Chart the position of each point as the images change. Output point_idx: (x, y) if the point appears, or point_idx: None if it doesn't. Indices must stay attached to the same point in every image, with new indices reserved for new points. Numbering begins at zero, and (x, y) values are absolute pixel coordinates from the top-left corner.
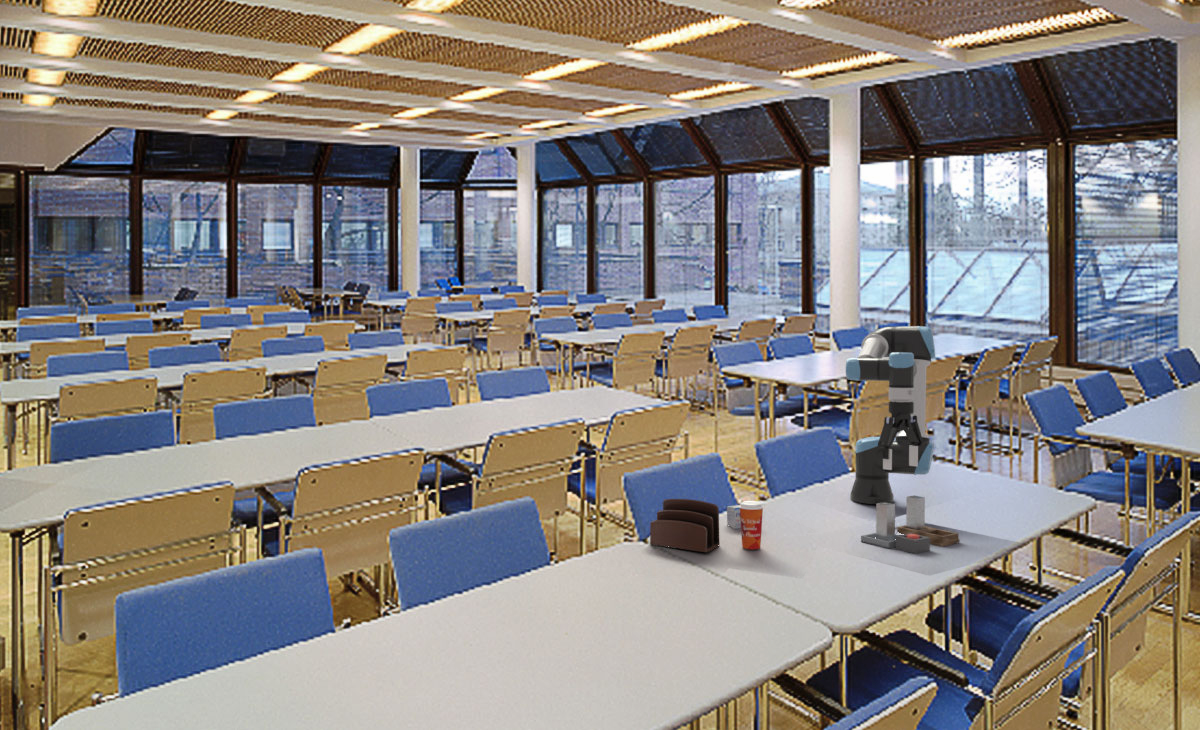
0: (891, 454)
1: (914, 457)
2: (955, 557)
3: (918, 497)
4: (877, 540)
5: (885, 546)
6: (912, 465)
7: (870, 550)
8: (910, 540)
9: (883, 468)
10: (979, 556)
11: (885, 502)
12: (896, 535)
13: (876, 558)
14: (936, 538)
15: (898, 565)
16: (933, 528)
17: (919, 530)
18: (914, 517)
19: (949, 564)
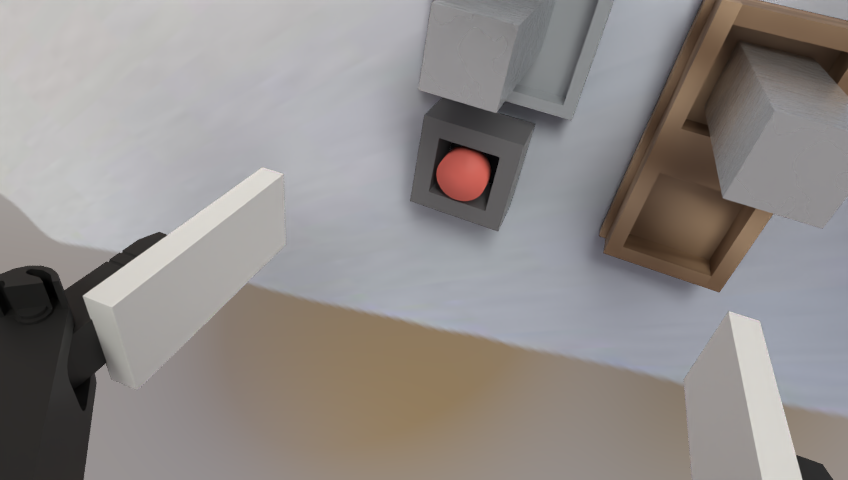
0: (180, 339)
1: (703, 447)
2: (476, 287)
3: (793, 192)
4: None
5: None
6: (704, 349)
7: (355, 20)
8: (415, 179)
9: (259, 175)
10: (537, 340)
11: (513, 36)
12: (583, 46)
13: (282, 90)
14: (616, 219)
15: None
16: None
17: (686, 136)
18: (721, 126)
19: (388, 284)
